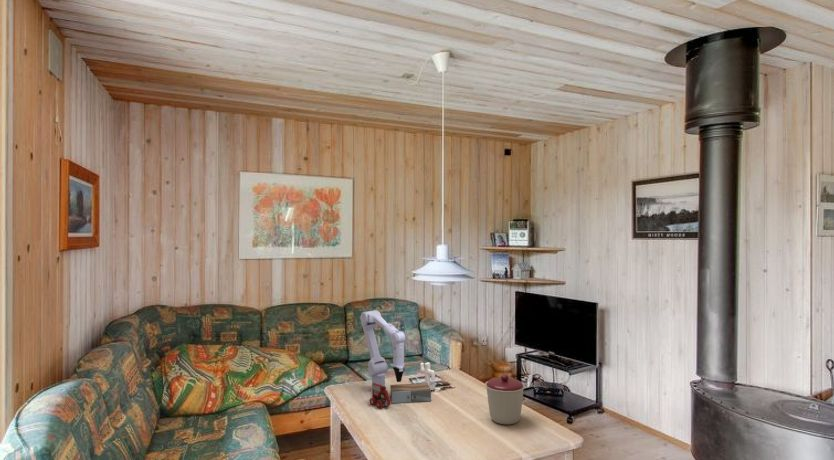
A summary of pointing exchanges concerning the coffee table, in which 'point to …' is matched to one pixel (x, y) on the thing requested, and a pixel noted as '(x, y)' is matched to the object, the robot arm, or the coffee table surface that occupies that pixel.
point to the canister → (505, 399)
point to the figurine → (428, 374)
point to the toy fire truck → (379, 396)
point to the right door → (401, 396)
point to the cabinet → (414, 391)
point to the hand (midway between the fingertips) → (398, 381)
